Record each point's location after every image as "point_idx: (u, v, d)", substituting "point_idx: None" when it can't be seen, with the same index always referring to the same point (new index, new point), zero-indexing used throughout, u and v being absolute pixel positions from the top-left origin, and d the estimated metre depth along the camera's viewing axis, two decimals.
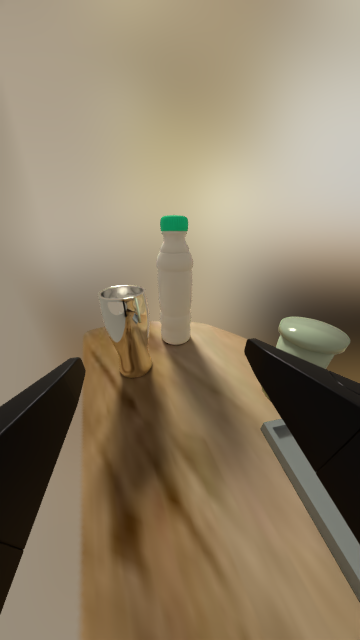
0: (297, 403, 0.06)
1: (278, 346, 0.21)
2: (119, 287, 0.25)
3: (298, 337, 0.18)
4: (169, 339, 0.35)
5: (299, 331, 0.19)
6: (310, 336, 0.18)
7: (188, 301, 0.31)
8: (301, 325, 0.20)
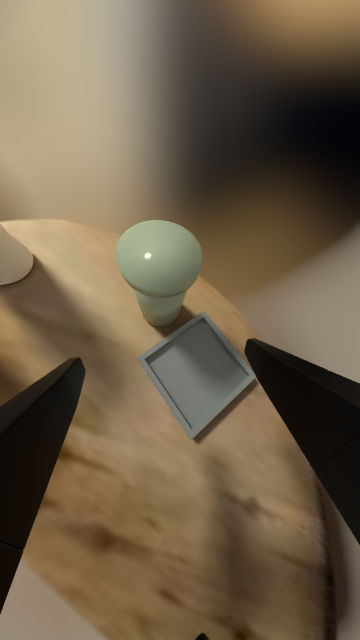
0: (297, 403, 0.06)
1: None
2: None
3: (134, 283, 0.11)
4: None
5: (140, 265, 0.12)
6: (153, 273, 0.12)
7: None
8: (148, 246, 0.12)
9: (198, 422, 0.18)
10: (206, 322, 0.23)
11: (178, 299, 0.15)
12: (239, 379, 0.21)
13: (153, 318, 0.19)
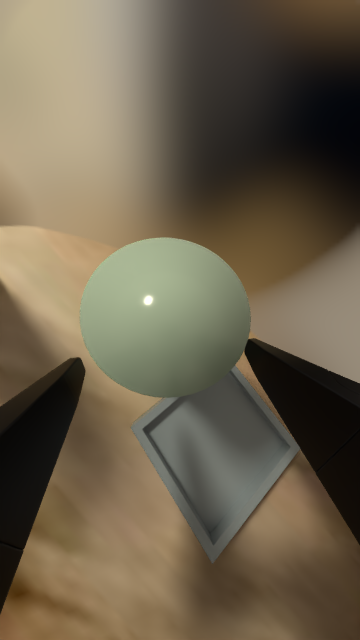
0: (297, 403, 0.06)
1: None
2: None
3: (116, 380, 0.05)
4: None
5: (130, 333, 0.06)
6: (156, 352, 0.06)
7: None
8: (145, 290, 0.06)
9: (222, 530, 0.12)
10: None
11: None
12: (275, 450, 0.15)
13: None
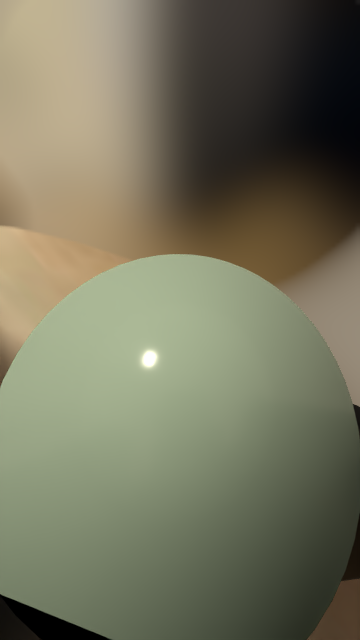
0: None
1: None
2: None
3: None
4: None
5: (104, 494, 0.02)
6: (167, 548, 0.02)
7: None
8: (142, 372, 0.03)
9: None
10: None
11: None
12: None
13: None
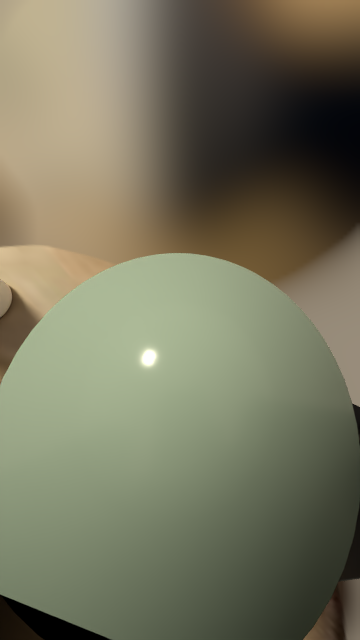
0: None
1: None
2: None
3: None
4: None
5: (104, 492, 0.02)
6: (166, 546, 0.02)
7: None
8: (141, 371, 0.03)
9: None
10: None
11: None
12: None
13: None
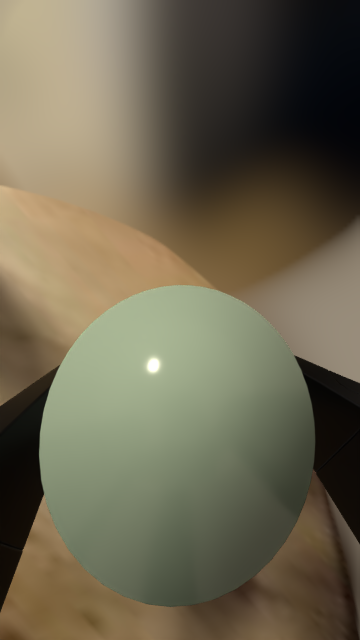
0: None
1: None
2: None
3: (101, 579, 0.03)
4: None
5: (127, 470, 0.03)
6: (172, 506, 0.03)
7: None
8: (151, 382, 0.04)
9: None
10: None
11: None
12: None
13: None
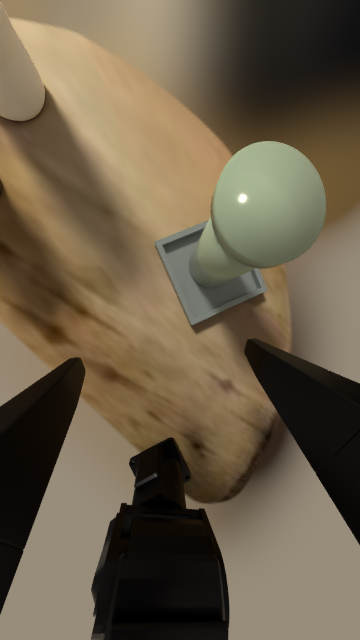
0: (297, 403, 0.06)
1: (208, 231, 0.12)
2: None
3: (232, 243, 0.09)
4: None
5: (244, 217, 0.09)
6: (257, 234, 0.09)
7: None
8: (259, 188, 0.09)
9: (201, 314, 0.20)
10: None
11: (255, 268, 0.13)
12: (249, 290, 0.22)
13: (208, 279, 0.17)
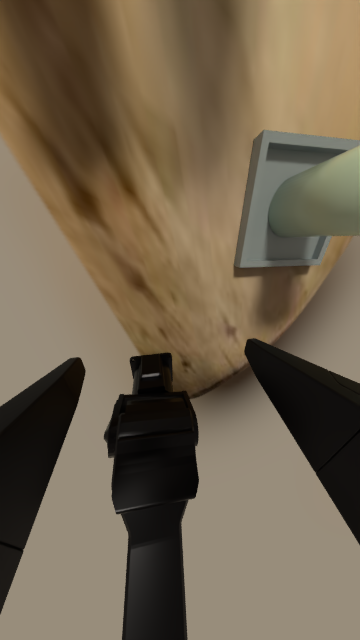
0: (297, 403, 0.06)
1: None
2: None
3: None
4: None
5: None
6: None
7: None
8: None
9: (253, 260, 0.19)
10: None
11: None
12: (304, 257, 0.20)
13: (297, 222, 0.15)
